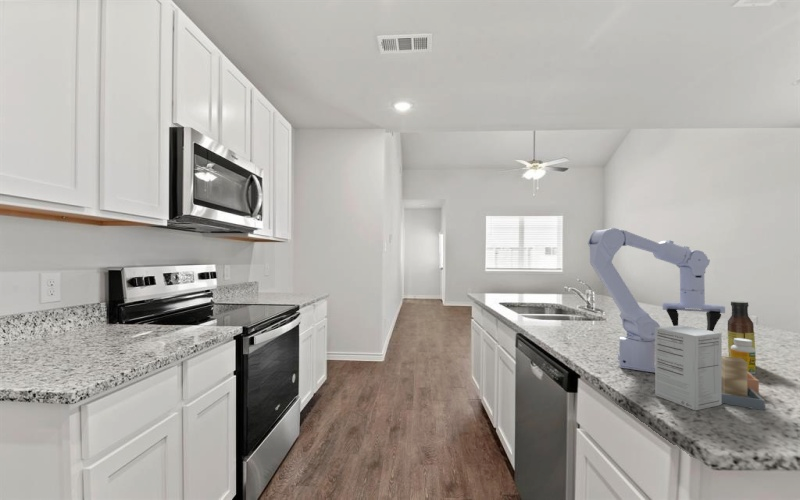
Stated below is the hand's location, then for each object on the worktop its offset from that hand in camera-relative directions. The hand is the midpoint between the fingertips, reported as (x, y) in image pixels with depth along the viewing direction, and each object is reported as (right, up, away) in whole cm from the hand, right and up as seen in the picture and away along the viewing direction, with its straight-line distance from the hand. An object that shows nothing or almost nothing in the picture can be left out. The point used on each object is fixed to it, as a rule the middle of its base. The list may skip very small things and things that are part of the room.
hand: (692, 335), depth 107 cm
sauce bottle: (+20, -11, +6) cm, 24 cm away
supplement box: (-20, -10, -22) cm, 32 cm away
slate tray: (-8, -10, -22) cm, 25 cm away
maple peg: (-8, -10, -22) cm, 25 cm away
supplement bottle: (+14, -11, -1) cm, 17 cm away
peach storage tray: (-1, -10, -10) cm, 15 cm away
